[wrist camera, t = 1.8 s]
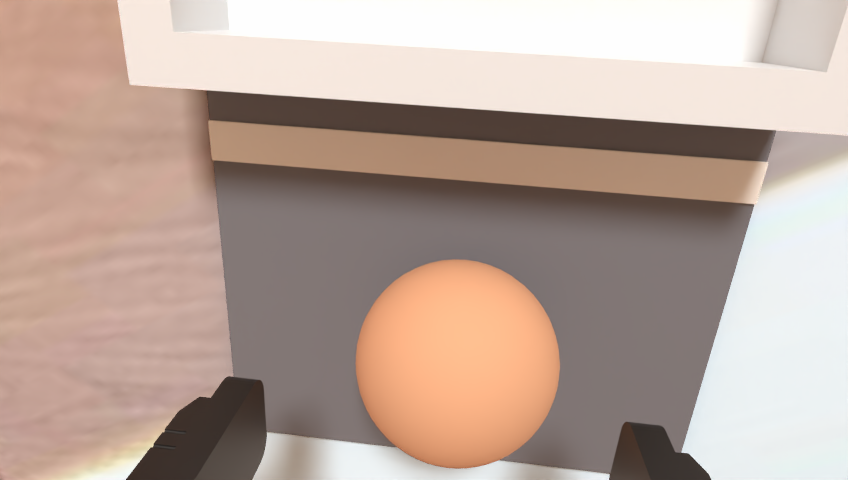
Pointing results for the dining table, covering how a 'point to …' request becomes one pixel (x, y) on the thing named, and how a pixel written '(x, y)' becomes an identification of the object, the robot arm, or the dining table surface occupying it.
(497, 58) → the tray
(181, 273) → the dining table surface
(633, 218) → the mat
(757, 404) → the dining table surface
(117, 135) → the dining table surface
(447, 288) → the ball
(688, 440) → the dining table surface
